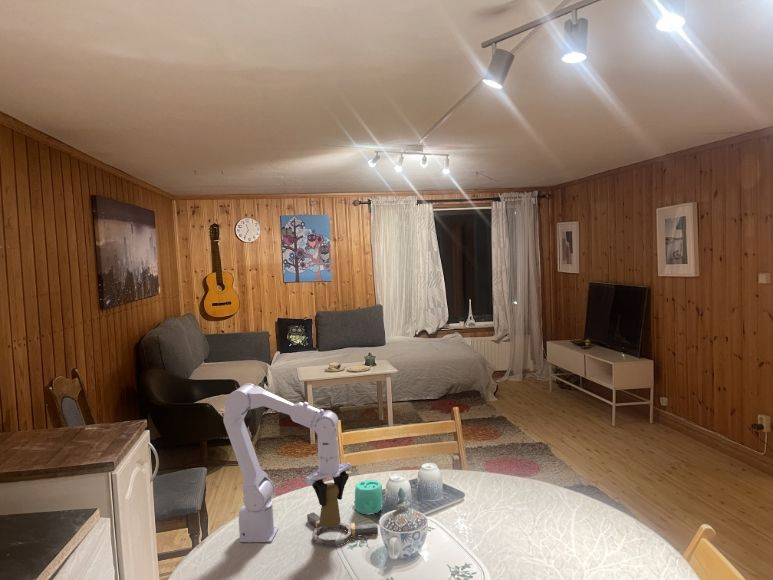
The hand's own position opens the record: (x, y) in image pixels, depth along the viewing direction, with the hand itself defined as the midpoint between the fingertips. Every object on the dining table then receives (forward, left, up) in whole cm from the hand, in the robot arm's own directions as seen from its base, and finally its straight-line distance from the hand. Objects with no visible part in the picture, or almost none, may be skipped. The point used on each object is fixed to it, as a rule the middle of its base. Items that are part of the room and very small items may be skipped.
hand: (330, 501), depth 160 cm
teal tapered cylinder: (+9, +17, -11) cm, 22 cm away
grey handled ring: (+2, +3, -10) cm, 11 cm away
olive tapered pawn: (0, 0, -6) cm, 6 cm away
